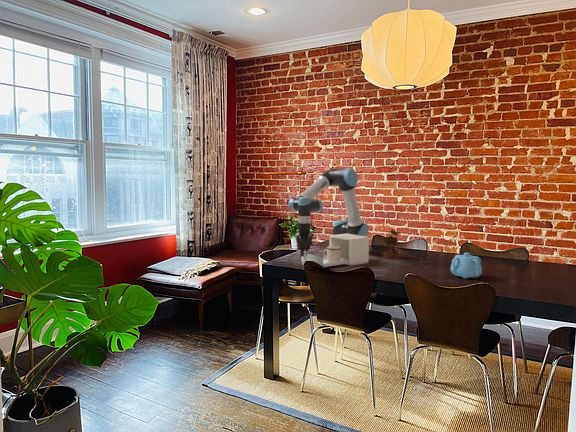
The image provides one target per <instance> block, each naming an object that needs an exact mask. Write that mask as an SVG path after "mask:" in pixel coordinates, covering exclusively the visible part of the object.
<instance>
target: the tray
mask: <svg viewBox="0 0 576 432" xmlns="http://www.w3.org/2000/svg"><path fill="white" fill-rule="evenodd" d="M306 261H314V262H317V263H319V264H320V265H322V266H324V267H323V268H327V267H333V266H340V265H345V264H347V263H349V260H347V259H343V258H341V261H337V262H328V261H327V257H326V256H323V257H322V256H318V255H316V254H314V255H313V254H311V253H310V254H309V253H307V256H306ZM301 265H304V262H303V261H301Z"/></svg>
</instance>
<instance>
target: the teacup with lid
mask: <svg viewBox="0 0 576 432" xmlns="http://www.w3.org/2000/svg"><path fill="white" fill-rule="evenodd" d="M323 255H324V257H327V261H328V262H337V261H341V247H339V246H338V245H336V243H333V245H330V244H329V245H328V246H327V247H326V248H325V249H324V250H323Z"/></svg>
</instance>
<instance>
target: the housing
mask: <svg viewBox="0 0 576 432" xmlns="http://www.w3.org/2000/svg"><path fill="white" fill-rule="evenodd" d="M333 243H336V245H338V246H339V247H341V258H343V259H347V260H349V263H347V264H344V265H346V266H351V267H353V266H358V265H364V264H368V263H369V258H370V257H369V255H370V254H369V253H370V236H367V237H365V236H359V235H353V234H338V235H333V234H331V235H329V246H330V245H333Z"/></svg>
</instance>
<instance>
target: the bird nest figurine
mask: <svg viewBox="0 0 576 432" xmlns="http://www.w3.org/2000/svg"><path fill="white" fill-rule="evenodd" d="M390 234H391V235H388V236H385V237H384V238H383V242H384V244H386V245H384V244H379V246H382V247H383V248H385V249H386V250H385V251H384V252H383V254H382V255H383V256H382V258H383V259H385V258H386V259H385V260H398V259H400V253H399V251H400V250H399V249H398V246H399V244H398V242H399V241H398V240H399V239H398V237H399V235H401V233H399V232H398V231H396V230H394V229H393V228H391V229H390ZM393 235H394V236H393ZM389 250H391V251H389Z"/></svg>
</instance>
